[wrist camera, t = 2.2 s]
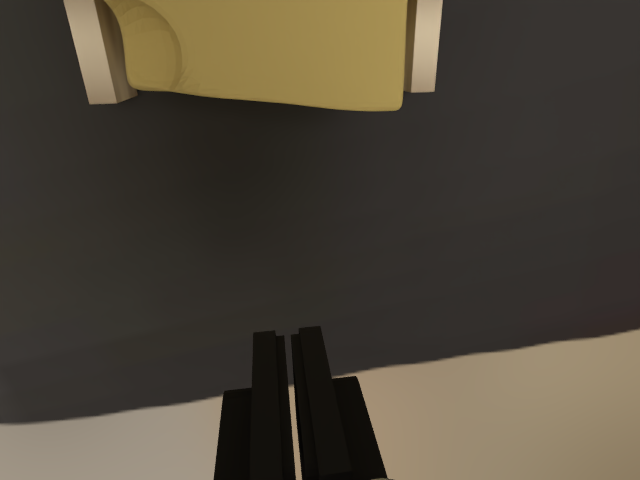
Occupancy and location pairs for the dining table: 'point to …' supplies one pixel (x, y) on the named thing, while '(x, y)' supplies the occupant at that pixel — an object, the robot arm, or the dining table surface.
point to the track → (112, 87)
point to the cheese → (269, 50)
